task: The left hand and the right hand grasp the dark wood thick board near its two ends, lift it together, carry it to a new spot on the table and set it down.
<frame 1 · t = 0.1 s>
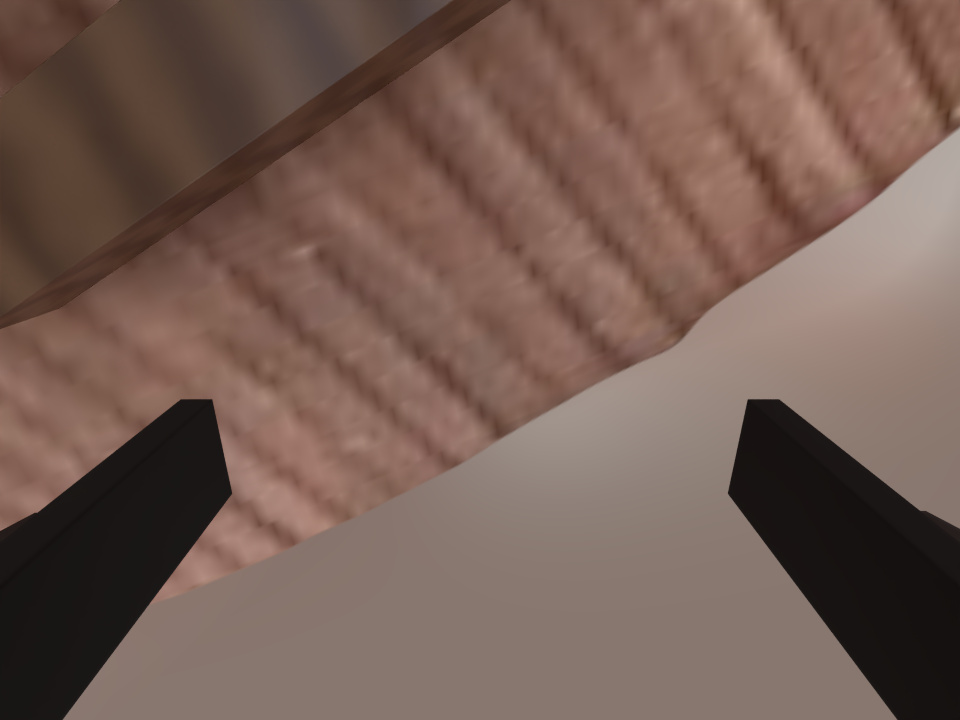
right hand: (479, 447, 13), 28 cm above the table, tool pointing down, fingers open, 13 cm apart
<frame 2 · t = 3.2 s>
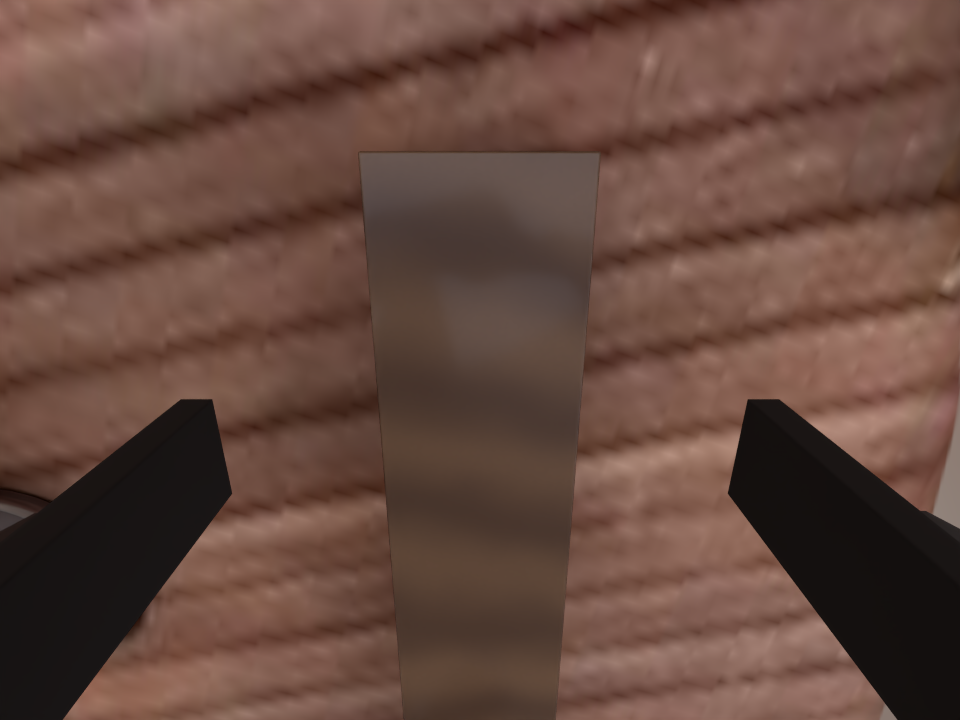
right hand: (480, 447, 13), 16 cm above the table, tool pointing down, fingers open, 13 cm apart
thick board: (479, 664, 38), on the table, touching left hand
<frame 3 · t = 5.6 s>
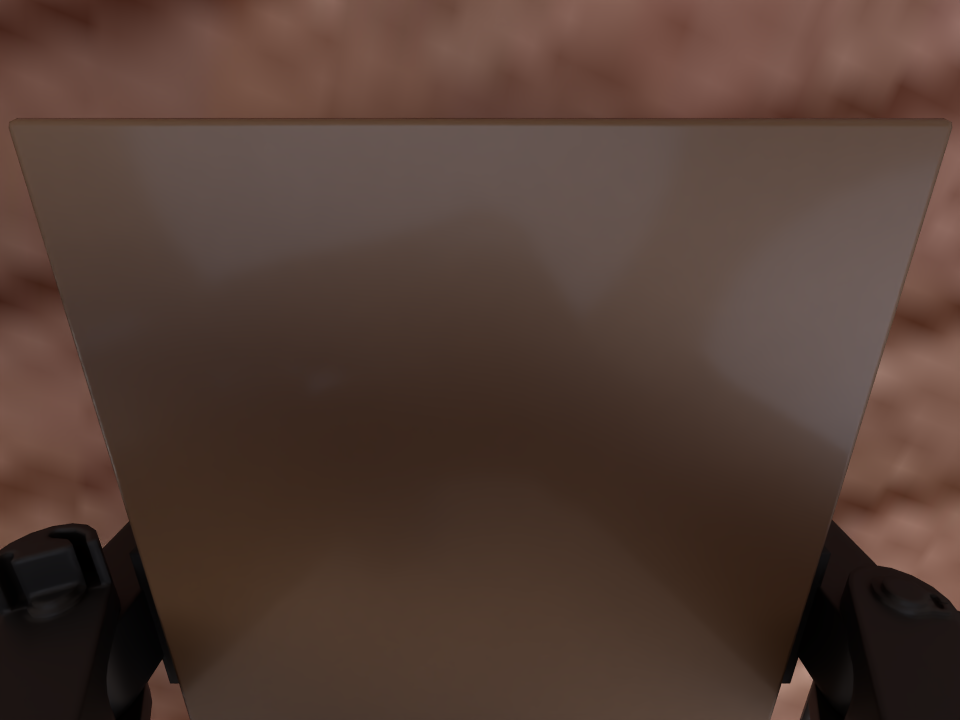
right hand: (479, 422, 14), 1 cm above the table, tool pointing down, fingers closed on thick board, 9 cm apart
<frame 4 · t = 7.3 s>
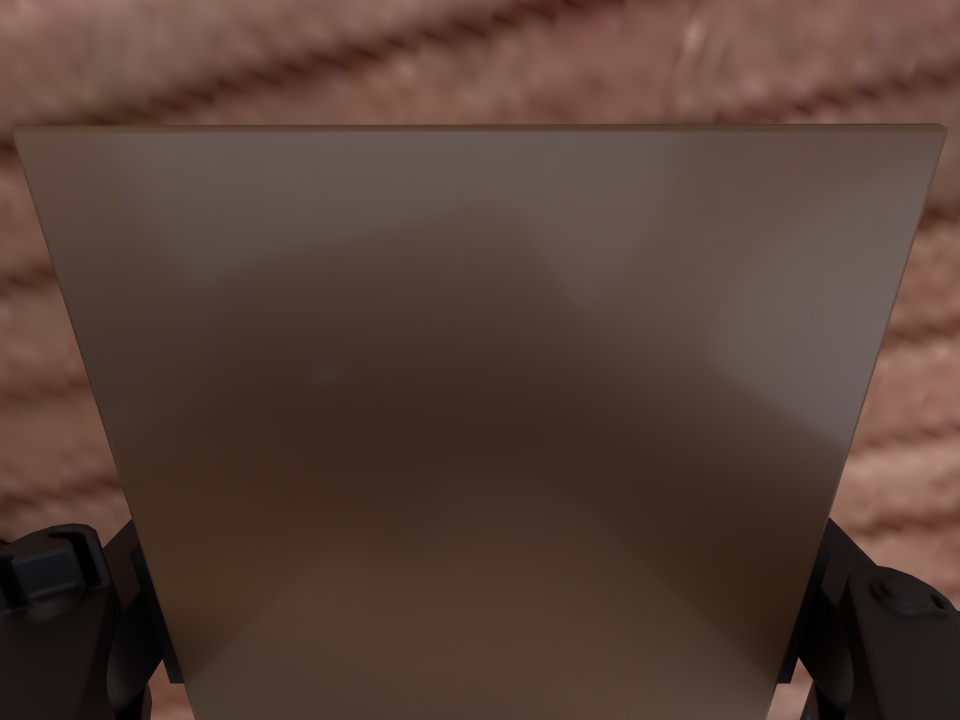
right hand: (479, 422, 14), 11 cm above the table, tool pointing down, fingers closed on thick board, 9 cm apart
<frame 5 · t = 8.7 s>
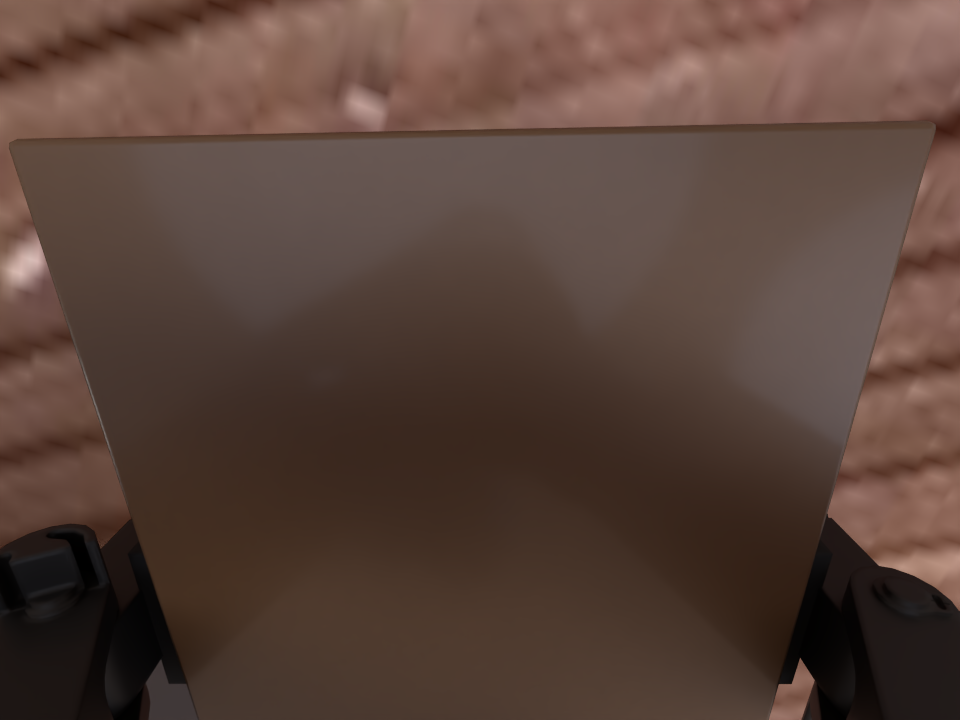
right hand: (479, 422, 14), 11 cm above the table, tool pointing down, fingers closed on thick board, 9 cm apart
when the left hand's fingers open (2 cm above the table, at t = 11.6 s): thick board drops 1 cm, on the table.
when the right hand's fingers open (2 cm above the table, at t = 11.6 s): thick board drops 1 cm, on the table.
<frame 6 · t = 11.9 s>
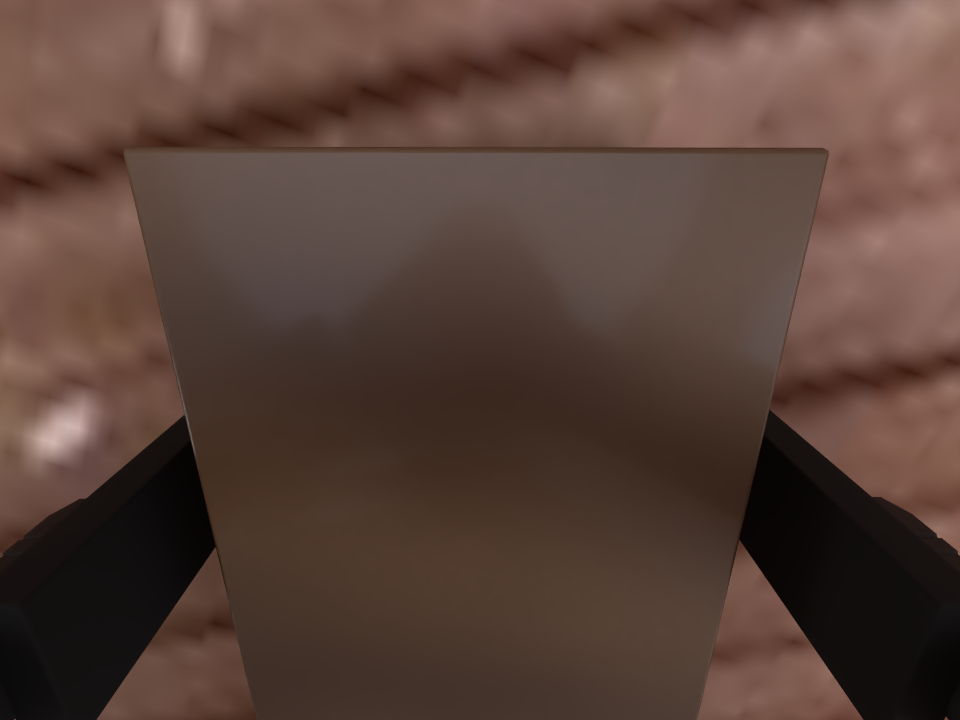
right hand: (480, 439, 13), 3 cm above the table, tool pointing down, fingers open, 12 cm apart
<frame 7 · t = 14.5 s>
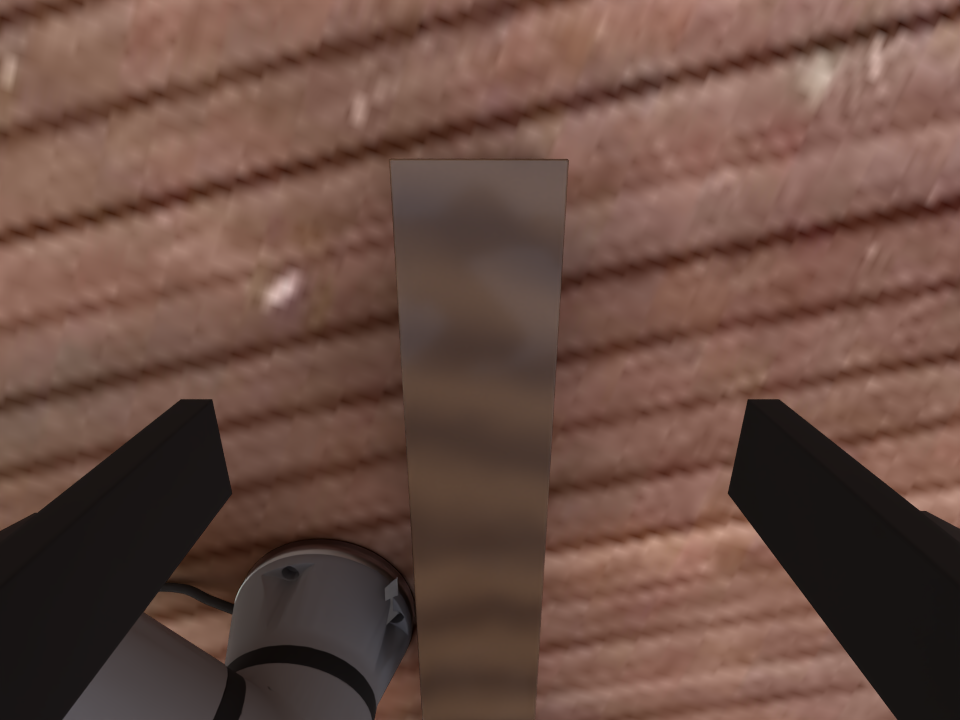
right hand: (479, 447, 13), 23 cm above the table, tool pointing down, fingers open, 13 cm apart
thick board: (478, 594, 45), on the table
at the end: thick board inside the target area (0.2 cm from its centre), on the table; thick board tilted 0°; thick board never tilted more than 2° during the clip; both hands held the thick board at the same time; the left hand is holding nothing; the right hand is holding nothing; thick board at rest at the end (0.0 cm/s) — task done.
